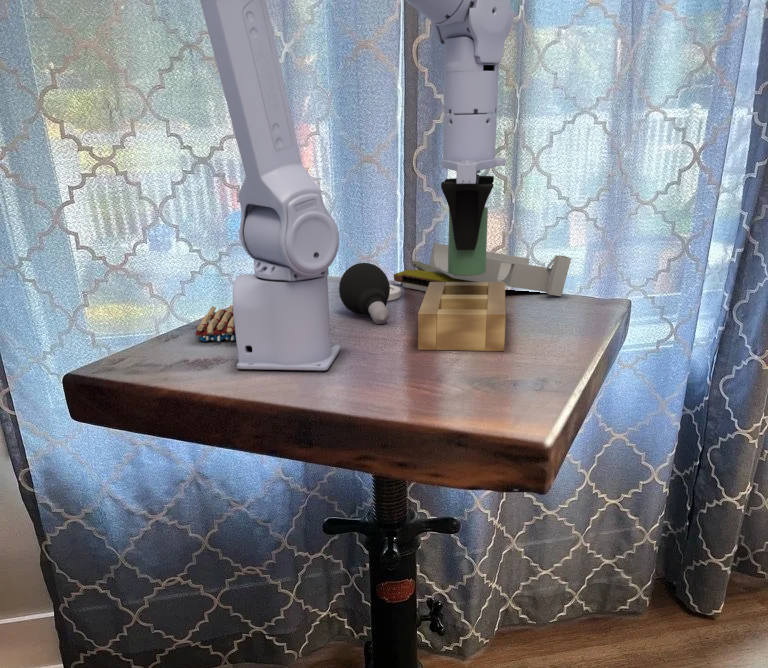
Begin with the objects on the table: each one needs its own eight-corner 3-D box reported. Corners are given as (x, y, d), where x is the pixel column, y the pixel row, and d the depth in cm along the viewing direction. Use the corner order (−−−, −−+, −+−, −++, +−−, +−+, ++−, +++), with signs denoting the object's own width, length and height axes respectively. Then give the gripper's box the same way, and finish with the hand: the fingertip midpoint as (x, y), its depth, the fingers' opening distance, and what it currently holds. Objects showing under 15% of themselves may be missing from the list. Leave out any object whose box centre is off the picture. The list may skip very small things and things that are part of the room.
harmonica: (408, 267, 116) (409, 281, 117) (393, 272, 115) (394, 286, 116) (480, 279, 106) (481, 294, 107) (464, 285, 105) (465, 299, 106)
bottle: (446, 275, 90) (448, 176, 85) (448, 268, 94) (450, 173, 89) (485, 275, 89) (489, 176, 85) (485, 268, 93) (489, 172, 88)
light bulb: (368, 294, 91) (340, 250, 97) (352, 340, 95) (326, 295, 101) (415, 299, 94) (385, 256, 100) (398, 343, 98) (370, 299, 104)
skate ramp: (521, 279, 118) (530, 244, 116) (561, 296, 106) (571, 258, 104) (429, 265, 113) (436, 228, 111) (460, 281, 102) (468, 241, 100)
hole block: (417, 349, 85) (417, 313, 83) (429, 313, 100) (429, 281, 98) (504, 351, 84) (505, 314, 82) (503, 314, 99) (504, 282, 97)
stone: (436, 286, 114) (467, 286, 116) (437, 272, 113) (468, 272, 115) (406, 270, 125) (435, 270, 126) (406, 257, 124) (436, 257, 125)
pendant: (411, 290, 108) (411, 296, 109) (368, 278, 116) (368, 283, 117) (368, 298, 105) (368, 304, 105) (327, 285, 113) (327, 290, 113)
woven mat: (191, 326, 88) (194, 344, 89) (286, 323, 88) (287, 340, 89) (206, 305, 97) (209, 321, 98) (292, 302, 98) (293, 318, 99)
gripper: (508, 114, 77) (501, 257, 83) (507, 112, 90) (501, 236, 96) (437, 115, 78) (435, 257, 84) (445, 113, 91) (444, 236, 97)
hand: (466, 246), depth 90 cm, fingers closed on bottle, 4 cm apart
